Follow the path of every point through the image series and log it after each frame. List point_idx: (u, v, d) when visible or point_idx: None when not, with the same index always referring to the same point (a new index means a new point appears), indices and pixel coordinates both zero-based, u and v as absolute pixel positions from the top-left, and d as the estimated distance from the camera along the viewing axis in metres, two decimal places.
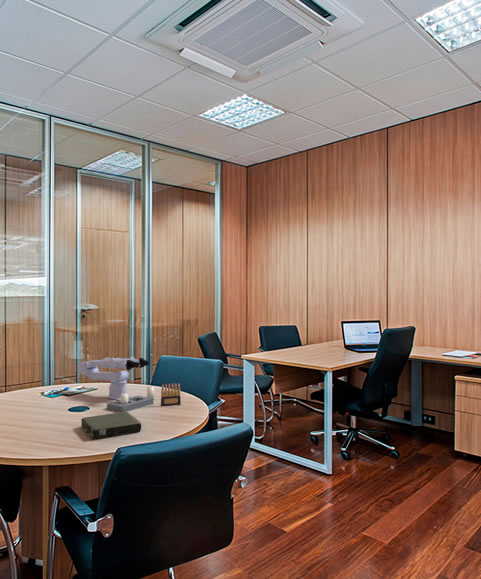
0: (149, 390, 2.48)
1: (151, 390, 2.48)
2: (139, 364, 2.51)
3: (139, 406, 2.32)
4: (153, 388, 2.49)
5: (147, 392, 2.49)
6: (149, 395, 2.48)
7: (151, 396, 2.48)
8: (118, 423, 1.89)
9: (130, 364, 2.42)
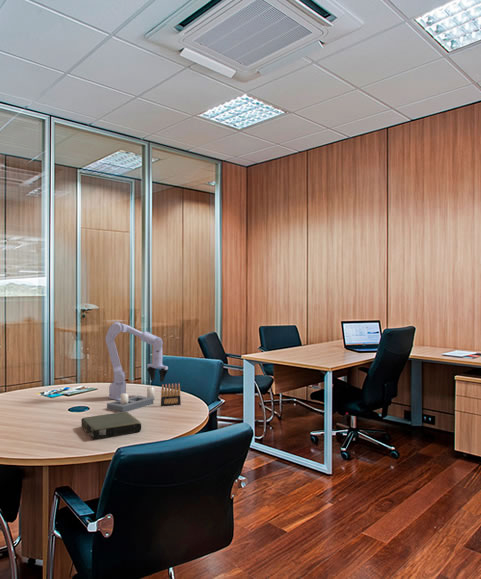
0: (149, 390, 2.48)
1: (151, 390, 2.48)
2: (150, 366, 2.59)
3: (139, 406, 2.32)
4: (153, 388, 2.49)
5: (147, 392, 2.49)
6: (149, 395, 2.48)
7: (151, 396, 2.48)
8: (118, 423, 1.89)
9: (163, 371, 2.55)
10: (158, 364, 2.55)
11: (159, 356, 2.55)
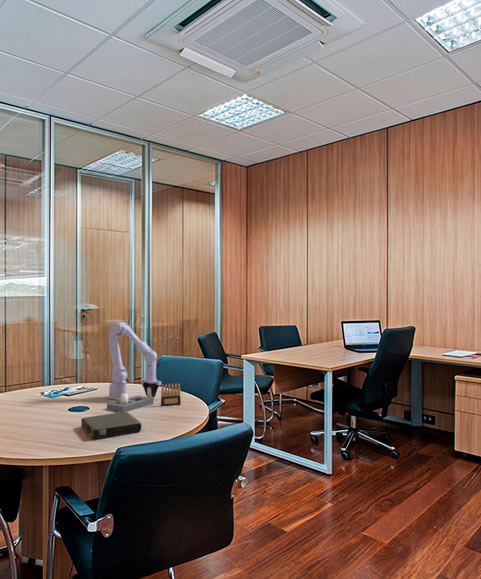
0: (149, 390, 2.48)
1: None
2: (143, 380, 2.52)
3: (139, 406, 2.32)
4: None
5: (147, 392, 2.49)
6: (149, 395, 2.48)
7: (151, 396, 2.48)
8: (118, 423, 1.89)
9: (154, 386, 2.49)
10: (151, 379, 2.47)
11: (151, 371, 2.47)
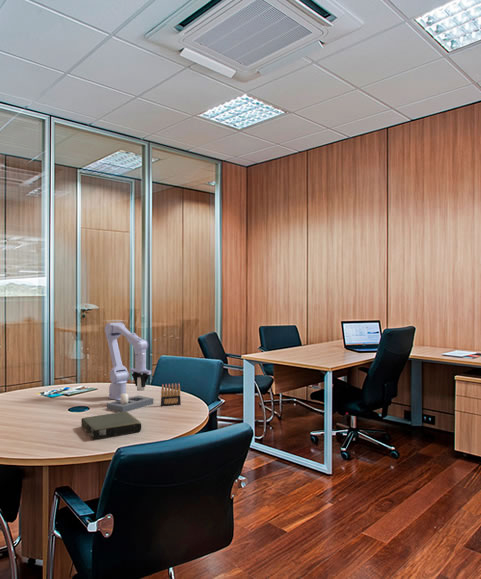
0: (139, 380, 2.40)
1: None
2: (132, 370, 2.43)
3: (139, 406, 2.32)
4: None
5: (137, 382, 2.40)
6: (139, 385, 2.39)
7: (141, 386, 2.40)
8: (118, 423, 1.89)
9: None
10: (141, 368, 2.39)
11: (138, 360, 2.39)
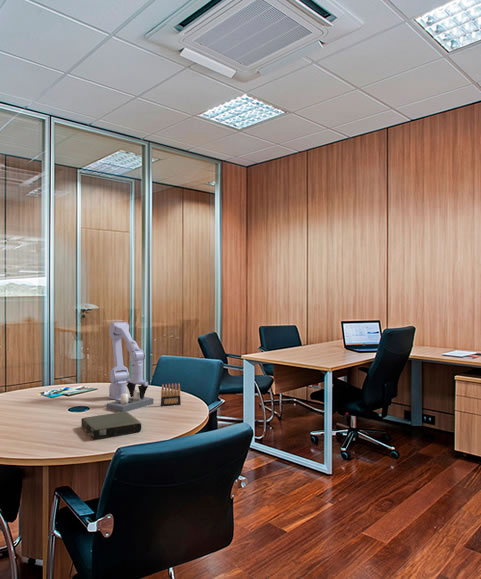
0: (136, 394, 2.37)
1: (138, 394, 2.37)
2: None
3: (139, 406, 2.32)
4: None
5: (134, 396, 2.37)
6: (136, 399, 2.37)
7: (138, 400, 2.37)
8: (118, 423, 1.89)
9: (142, 387, 2.36)
10: (138, 380, 2.36)
11: (134, 371, 2.36)
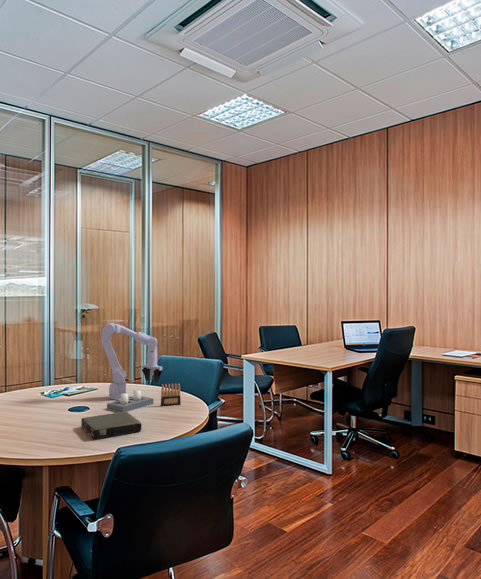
0: (136, 394, 2.37)
1: (138, 394, 2.37)
2: (144, 366, 2.57)
3: (139, 406, 2.32)
4: (140, 391, 2.38)
5: (133, 396, 2.37)
6: (136, 399, 2.37)
7: (138, 400, 2.37)
8: (118, 423, 1.89)
9: (157, 372, 2.53)
10: (153, 364, 2.53)
11: (153, 356, 2.53)
